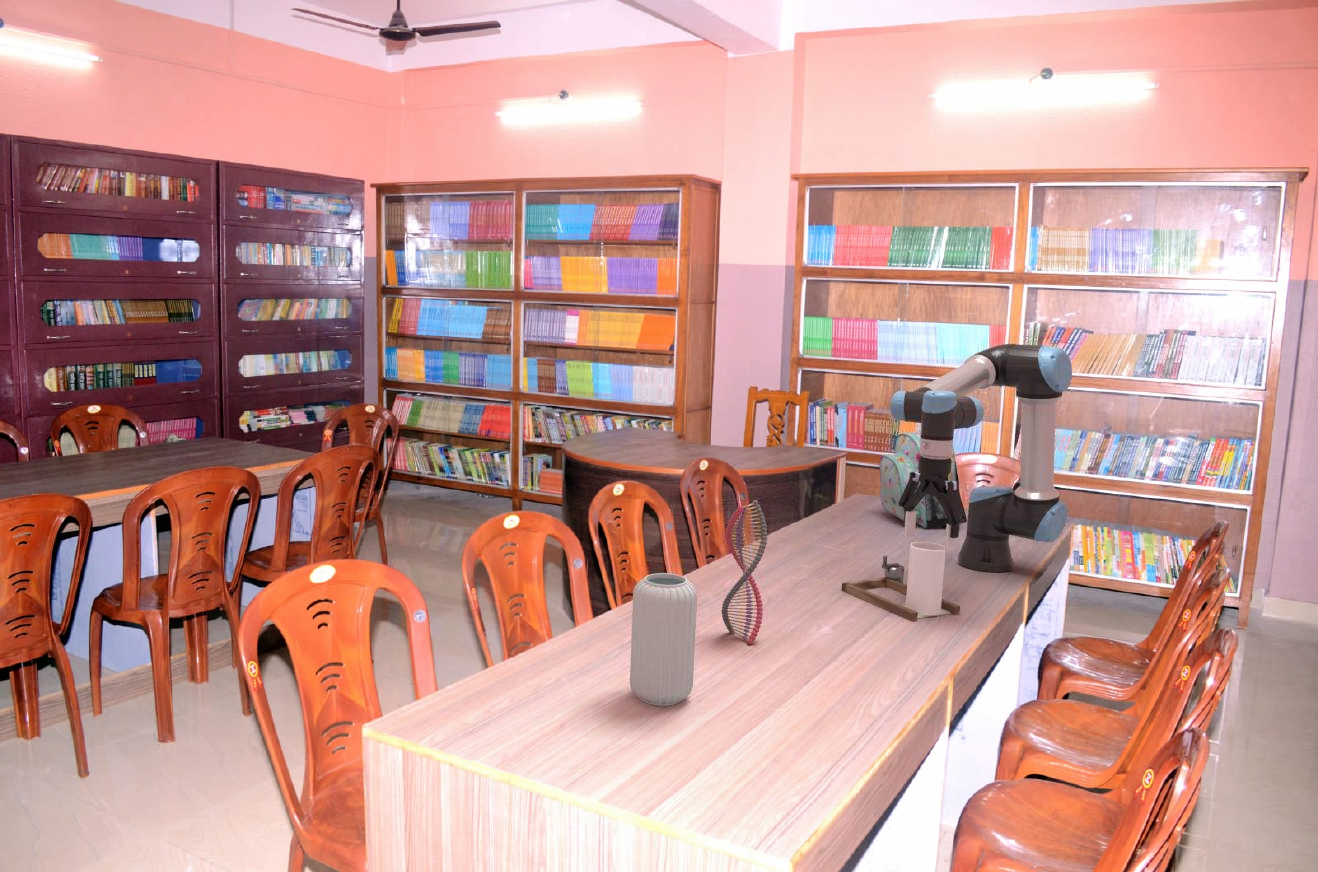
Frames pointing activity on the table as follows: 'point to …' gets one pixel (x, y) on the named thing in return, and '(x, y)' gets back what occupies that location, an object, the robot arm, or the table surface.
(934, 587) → the cup
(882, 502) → the backpack
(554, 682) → the table surface
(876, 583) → the frame
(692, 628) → the vase
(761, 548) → the dna model
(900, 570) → the winch drum
